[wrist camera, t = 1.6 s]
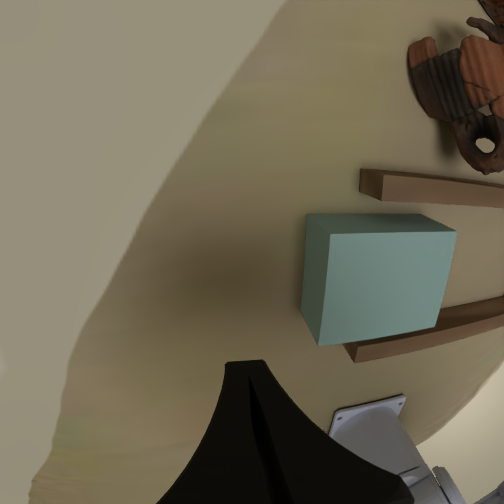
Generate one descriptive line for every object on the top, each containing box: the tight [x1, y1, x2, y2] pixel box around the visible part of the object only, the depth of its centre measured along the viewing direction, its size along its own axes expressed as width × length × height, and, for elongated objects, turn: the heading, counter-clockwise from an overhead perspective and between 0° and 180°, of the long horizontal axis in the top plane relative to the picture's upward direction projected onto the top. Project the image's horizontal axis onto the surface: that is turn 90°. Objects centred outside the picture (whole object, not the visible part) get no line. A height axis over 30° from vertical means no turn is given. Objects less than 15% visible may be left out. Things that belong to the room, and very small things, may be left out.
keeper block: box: [301, 214, 458, 347], centre depth 20 cm, size 7×9×4 cm
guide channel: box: [342, 169, 504, 363], centre depth 21 cm, size 13×22×3 cm, turn 90°
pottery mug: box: [408, 17, 504, 175], centre depth 16 cm, size 12×10×8 cm
